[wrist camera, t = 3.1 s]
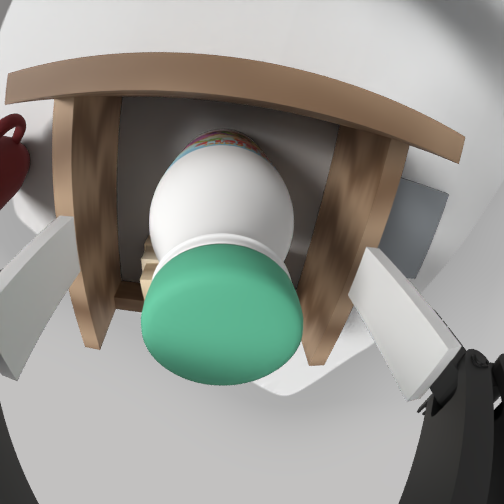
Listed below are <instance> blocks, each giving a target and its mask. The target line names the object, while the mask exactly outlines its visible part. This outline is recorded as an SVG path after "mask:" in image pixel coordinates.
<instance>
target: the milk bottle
mask: <svg viewBox="0 0 504 504" xmlns="http://www.w3.org/2000/svg"><path fill="white" fill-rule="evenodd" d="M149 230H150V237H151V242H152V246H153V249H154V252H155V254H156V257H157V259H158V261H159V264H158V265H157V267H156V269H155V272H154V274H153V278H152V282H151V285H150V287H149V290H148V292H147V295H146V298H145V301H144V306H143V310H142V315H141V328H142V336H143V340H144V343H145V345H146V347H147V349H148V350H149V352H150V353H151V355H152V356H153V357H154V358H155V359H156V361H157V362H159V363H160V364H161V365H162V366H163V367H165V368H166V369H168V370H169V371H171V372H173V373H174V374H176V375H178V376H180V377H182V378H185V379H188V380H190V381H194V382H197V383H202V384H209V385H236V384H242V383H247V382H251V381H254V380H257V379H260V378H262V377H265V376H267V375H269V374H271V373H272V372H274V371H276V370H277V369H279V368H280V367H282V366H283V365H284V364H285V363H286V362H287V361H288V360H289V359H290V358H291V357H292V356H293V355H294V353H295V352H296V350H297V349H298V347H299V345H300V342H301V339H302V335H303V313H302V309H301V305H300V302H299V298H298V295H297V293H296V291H295V288H294V286H293V284H292V282H291V277H290V274H289V271H288V269H287V267H286V265H285V264H284V260H285V258H286V256H287V254H288V251H289V248H290V245H291V241H292V237H293V230H294V213H293V206H292V202H291V198H290V195H289V192H288V189H287V187H286V185H285V183H284V181H283V179H282V178H281V176H280V174H279V172H278V171H277V169H276V168H275V167H274V165H273V164H272V163H271V161H270V160H269V159H268V157H267V156H266V155H265V154H264V152H263V151H262V150H261V149H260V148H259V146H258V145H257V144H256V143H255V142H254V141H253V140H252V139H250V138H249V137H247V136H246V135H244V134H242V133H240V132H238V131H234V130H230V129H216V130H211V131H208V132H205V133H203V134H201V135H199V136H198V137H196V138H195V139H194V140H192V141H191V142H190V143H189V144H188V145H187V146H186V147H185V148H184V150H183V151H182V152H181V153H180V154H179V155H178V157H177V158H176V159H175V160H174V161H173V163H172V164H171V165H170V167H169V168H168V169H167V171H166V172H165V174H164V175H163V177H162V179H161V180H160V182H159V184H158V186H157V188H156V190H155V193H154V196H153V199H152V203H151V207H150V215H149Z"/></svg>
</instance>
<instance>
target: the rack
mask: <svg viewBox="0 0 504 504" xmlns="http://www.w3.org/2000/svg"><path fill="white" fill-rule="evenodd" d="M122 97H171V98H188V99H200V100H211V101H220V102H228V103H236V104H243V105H250V106H256V107H262V108H268V109H273V110H279V111H284V112H289V113H293V114H298V115H302V116H307V117H311V118H315V119H319V120H323V121H327V122H331V123H335V124H339V125H340V127H339V131H338V136H337V140H336V145H335V149H334V153H333V158H332V162H331V166H330V170H329V174H328V178H327V182H326V186H325V190H324V194H323V198H322V202H321V206H320V210H319V213H318V217H317V221H316V224H315V228H314V232H313V235H312V239H311V242H310V246H309V249H308V253H307V256H306V260H305V263H304V267H303V270H302V273H301V277H300V280H299V283H298V286H297V290H296V293H297V295H298V298H299V302H300V305H301V309H302V313H303V335H302V339H301V341H302V344H303V347H304V351H305V354H306V357H307V361H308V364H309V366H315V365H324V364H325V362H326V360H327V359H328V357H329V355H330V353H331V351H332V349H333V347H334V345H335V343H336V341H337V339H338V337H339V335H340V333H341V331H342V329H343V327H344V325H345V323H346V321H347V318H348V316H349V314H350V312H351V310H352V308H353V303H352V301H351V299H350V298H349V296H348V293H349V291H350V288H351V286H352V283H353V281H354V278H355V276H356V273H357V271H358V268H359V265H360V263H361V260H362V257H363V255H364V252H365V249H366V247H372V248H378V245H379V242H380V240H381V237H382V234H383V231H384V228H385V226H386V223H387V220H388V217H389V214H390V211H391V208H392V205H393V202H394V198H395V195H396V192H397V189H398V185H399V182H400V179H401V175H402V172H403V168H404V164H405V161H406V157H407V153H408V149H409V145H410V146H413V147H416V148H419V149H422V150H424V151H427V152H430V153H433V154H435V155H438V156H440V157H443V158H445V159H448V160H450V161H453V162H455V163H458V164H459V161H460V157H461V153H462V149H463V145H464V141H465V136H463V135H461V134H459V133H458V132H456V131H454V130H452V129H451V128H449V127H447V126H445V125H443V124H442V123H440V122H438V121H436V120H434V119H432V118H430V117H428V116H426V115H424V114H422V113H420V112H418V111H416V110H414V109H412V108H409V107H407V106H405V105H403V104H400V103H398V102H396V101H393V100H391V99H389V98H386V97H384V96H381V95H379V94H376V93H373V92H371V91H368V90H365V89H363V88H360V87H357V86H354V85H351V84H348V83H345V82H342V81H339V80H336V79H332V78H329V77H326V76H322V75H318V74H315V73H311V72H307V71H303V70H299V69H295V68H291V67H286V66H281V65H277V64H272V63H266V62H261V61H255V60H249V59H242V58H235V57H227V56H218V55H207V54H194V53H172V52H142V53H120V54H107V55H97V56H89V57H81V58H75V59H68V60H63V61H57V62H52V63H47V64H43V65H38V66H34V67H30V68H26V69H22V70H19V71H15V72H12V73H8V78H7V86H6V96H5V105H7V104H13V103H20V102H28V101H37V100H47V99H54V109H53V127H52V172H53V190H54V203H55V213H56V218H57V217H59V216H72V217H74V227H75V236H76V244H77V252H78V258H79V265H80V273H79V274H78V276H77V277H76V279H75V280H74V282H73V283H72V285H71V286H70V288H69V292H70V296H71V301H72V304H73V308H74V312H75V315H76V319H77V322H78V325H79V328H80V332H81V335H82V338H83V341H84V344H85V347H89V348H93V349H99V350H100V349H101V346H102V343H103V341H104V338H105V335H106V333H107V330H108V327H109V325H110V322H111V320H112V317H113V315H114V312H115V310H116V309H121V310H128V311H135V312H142V310H143V306H144V297H143V293H142V288H141V284H140V283H136V282H128V281H122V280H121V270H120V259H119V245H118V226H117V155H118V137H119V124H120V113H121V103H122Z"/></svg>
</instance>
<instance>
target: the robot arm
mask: <svg viewBox="0 0 504 504" xmlns="http://www.w3.org/2000/svg"><path fill="white" fill-rule="evenodd" d="M79 273H80V265H79V258H78V252H77V244H76V236H75V227H74V217H72V216H59V217H57V218H56V219H55V220H54V221H53V222H52V223H50V224H49V225H48V226H47V227H46V228H45V229H44V230H42V231H41V232H40V233H39V234H38V235H37V236H36V237H35V238H34V239H33V240H32V241H31V242H29V243H28V244H27V245H26V246H25V247H24V248H23V249H22V250H21V251H20V252H19V253H18V254H17V255H16V256H15V257H14V258H13V259H12V260H11V261H10V262H9V263H8V264H7V265H6V266H5V267H4V268H3V269H2V270H0V373H1V374H2V375H3V376H6V377H9V378H11V379H13V380H16V381H18V379H19V377H20V374H21V372H22V370H23V368H24V366H25V364H26V362H27V360H28V358H29V356H30V354H31V352H32V350H33V348H34V347H35V345H36V343H37V341H38V339H39V337H40V335H41V333H42V332H43V330H44V328H45V327H46V325H47V323H48V321H49V320H50V318H51V316H52V314H53V313H54V311H55V310H56V308H57V306H58V305H59V303H60V301H61V300H62V298H63V297H64V295H65V294H66V292H67V291H68V289H69V288H70V286H71V285H72V283H73V282H74V280H75V279H76V277H77V276H78V274H79ZM348 296H349V298H350V299H351V301H352V303H353V305H354V306H355V308H356V310H357V311H358V313H359V315H360V317H361V318H362V320H363V322H364V324H365V325H366V327H367V329H368V331H369V332H370V334H371V336H372V338H373V340H374V341H375V343H376V345H377V347H378V349H379V350H380V352H381V354H382V356H383V358H384V360H385V362H386V363H387V365H388V367H389V369H390V371H391V373H392V375H393V377H394V379H395V380H396V383H397V385H398V387H399V389H400V391H401V392H402V394H403V397H404V399H405V401H406V402H408V401H412V400H415V399H419V398H421V397H422V396H423V395H424V394H425V392H426V391H427V390H428V389H429V388H430V389H431V391H432V394H431V396H430V397H429V398H428V399H427V400H426V401H425V402H424V403H423V404H422V405H421V406H420V407H419V409H418V411H417V412H418V413H419V412H420V411H421V410H422V409H423V408H424V407H426V411H424V412H423V415H425V417H424V421H423V426H422V430H421V435H420V439H419V443H418V446H417V450H416V454H415V457H414V461H413V464H412V467H411V471H410V474H409V477H408V480H407V482H406V486H405V488H404V491H403V493H402V496H401V499H400V501H399V504H504V354H501V355H500V356H499V357H498V359H497V360H496V361H495V363H489V361H488V360H487V359H486V357H485V356H484V355H483V354H482V353H480V352H479V351H477V350H474V349H469V350H467V351H466V350H465V348H464V347H463V346H462V344H461V343H460V342H459V340H458V339H457V338H456V336H455V335H454V334H453V332H452V331H451V330H450V328H448V327H447V325H446V323H445V322H444V321H442V318H441V317H440V316H439V315H438V313H437V312H436V311H435V310H434V309H433V308H432V307H431V306H430V305H429V304H428V303H427V301H426V300H425V299H424V298H423V297H422V295H421V294H420V293H419V292H418V291H417V290H416V288H415V287H414V286H413V285H412V284H411V283H410V282H409V280H408V279H407V278H406V277H405V276H404V275H403V274H402V273H401V271H400V270H399V269H398V268H397V267H396V266H395V265H394V264H393V263H392V262H391V260H390V259H389V258H388V257H387V256H386V255H385V254H384V253H383V252H382V251H381V250H380V249H379V248H372V247H366V249H365V252H364V255H363V257H362V260H361V263H360V265H359V268H358V271H357V273H356V276H355V278H354V281H353V283H352V286H351V288H350V291H349V293H348ZM500 396H501V399H502V402H501V403H500V404H499V405H498V406H497V407H496V408H495V410H494V407H493V403H494V402H495V401H496V400H497V399H498V398H499V397H500ZM0 504H39V503H38V502H37V500H36V498H35V496H34V494H33V492H32V490H31V488H30V485H29V483H28V481H27V479H26V477H25V475H24V472H23V470H22V468H21V465H20V463H19V460H18V458H17V455H16V452H15V450H14V447H13V444H12V442H11V438H10V436H9V432H8V429H7V426H6V422H5V419H4V415H3V411H2V407H1V404H0Z"/></svg>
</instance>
